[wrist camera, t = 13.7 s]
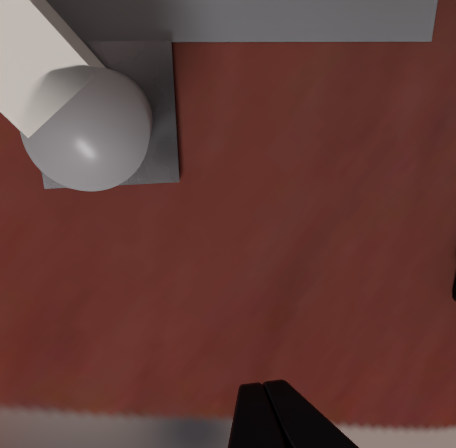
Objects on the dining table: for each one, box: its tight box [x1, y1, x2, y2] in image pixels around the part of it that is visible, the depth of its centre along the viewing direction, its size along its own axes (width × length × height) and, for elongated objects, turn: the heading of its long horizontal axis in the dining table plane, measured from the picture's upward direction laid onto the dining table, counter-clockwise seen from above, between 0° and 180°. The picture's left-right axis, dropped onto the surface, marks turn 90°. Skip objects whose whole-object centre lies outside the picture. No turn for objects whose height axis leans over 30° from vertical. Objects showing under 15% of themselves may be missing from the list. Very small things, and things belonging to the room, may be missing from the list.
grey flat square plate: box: [41, 41, 179, 189], centre depth 17 cm, size 6×6×1 cm
